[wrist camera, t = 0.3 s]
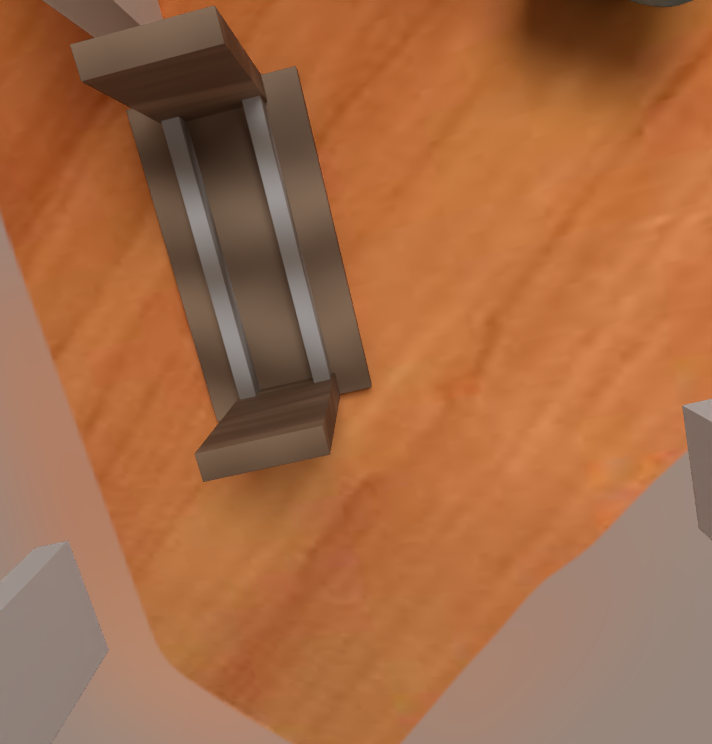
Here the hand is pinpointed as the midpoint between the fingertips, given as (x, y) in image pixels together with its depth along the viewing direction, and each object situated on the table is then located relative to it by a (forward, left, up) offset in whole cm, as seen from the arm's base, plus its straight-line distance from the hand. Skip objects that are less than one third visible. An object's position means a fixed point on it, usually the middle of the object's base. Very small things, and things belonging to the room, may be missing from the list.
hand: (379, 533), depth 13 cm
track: (-6, -6, -27) cm, 28 cm away
